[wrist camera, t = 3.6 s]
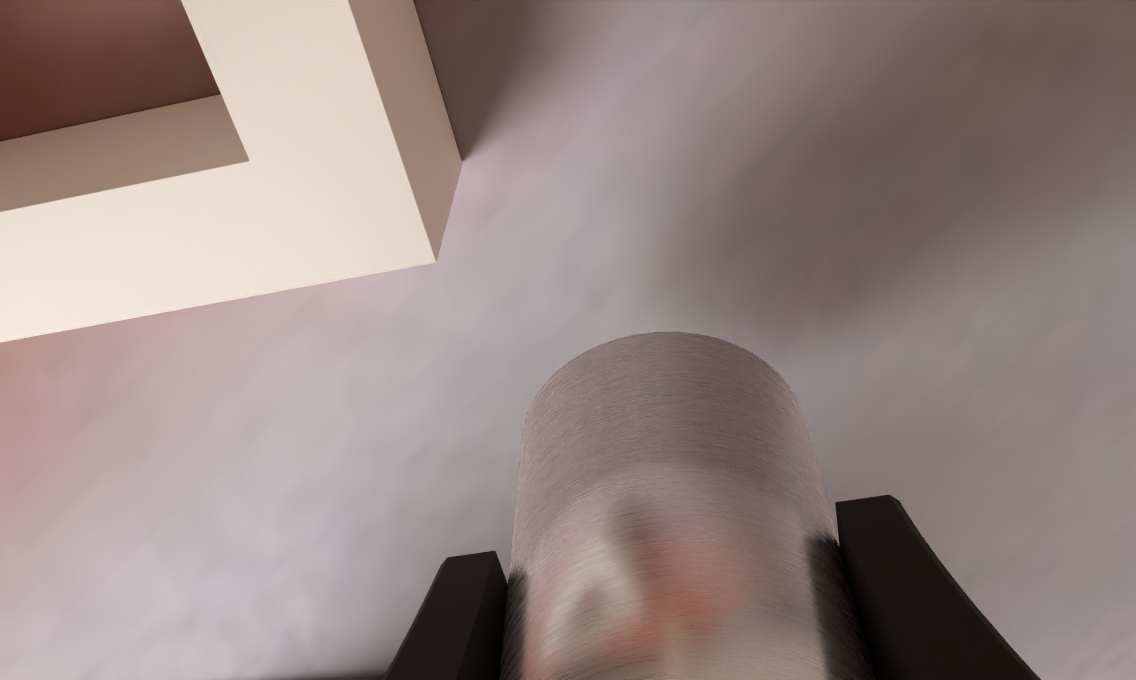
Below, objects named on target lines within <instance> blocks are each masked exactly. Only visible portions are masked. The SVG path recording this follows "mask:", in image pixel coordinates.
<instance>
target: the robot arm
mask: <svg viewBox="0 0 1136 680" xmlns="http://www.w3.org/2000/svg"><path fill="white" fill-rule="evenodd" d="M835 503H836V514H837V524H838V534H839V544H840V550H841V553H842V557H843V560H844V564H845V568H846V571H847V575H848V578H849V582H850V586H851V589H852V593H853V596H854V600H855V604H856V607H857V611H858V614H859V618H860V621H861V625H862V628H863V632H864V635H865V639H866V643H867V646H868V650H869V653H870V657H871V661H872V664H873V668H874V671H875V675H876V679H877V680H1041V679H1040V678H1039V677H1038V676H1037V675H1036V674H1035V673H1034V672H1033V671H1032V670H1031V669H1030V667H1029V666H1028V665H1027V664H1026V663H1025V662H1024V661H1023V660H1022V659H1021V658H1020V656H1019V655H1018V654H1017V653H1016V652H1015V651H1014V650H1013V649H1012V648H1011V646H1010V645H1009V644H1008V643H1007V642H1006V641H1005V640H1004V638H1003V637H1002V636H1001V635H1000V634H999V633H998V631H997V630H996V629H995V628H994V627H993V626H992V624H991V623H990V622H989V621H988V620H987V619H986V617H985V616H984V615H983V614H982V613H981V612H980V610H979V609H978V608H977V607H976V606H975V605H974V603H973V602H972V601H971V600H970V598H969V597H968V596H967V595H966V594H965V592H964V591H963V590H962V589H961V587H960V586H959V585H958V584H957V582H956V581H955V580H954V578H953V577H952V576H951V574H950V573H949V572H948V571H947V569H946V568H945V567H944V565H943V564H942V563H941V561H940V560H939V559H938V558H937V556H936V555H935V553H934V552H933V551H932V549H931V548H930V547H929V545H928V544H927V542H926V541H925V540H924V538H923V537H922V535H921V534H920V532H919V531H918V530H917V528H916V527H915V525H914V524H913V522H912V520H911V519H910V517H909V516H908V514H907V513H906V511H905V510H904V508H903V506H902V505H901V503H900V501H898V500H897V499H895V498H894V497H892V496H891V495H884V496H877V497H870V498H863V499H856V500H849V501H842V502H835ZM507 590H508V584H507V581H506V578H505V576H504V573H503V570H502V568H501V565H500V562H499V559H498V557H497V554H496V551H490V552H483V553H476V554H469V555H462V556H455V557H448V558H447V559H446V560H445V561H444V562H443V564H442V565H441V567H440V569H439V571H438V573H437V575H436V577H435V579H434V581H433V583H432V585H431V587H430V589H429V591H428V593H427V595H426V597H425V599H424V601H423V604H422V606H421V608H420V610H419V612H418V613H417V615H416V617H415V619H414V621H413V623H412V625H411V627H410V629H409V631H408V633H407V635H406V637H405V639H404V641H403V643H402V644H401V646H400V648H399V650H398V652H397V654H396V656H395V658H394V660H393V661H392V663H391V665H390V667H389V669H388V670H387V672H386V674H385V676H384V678H383V679H382V680H499V676H500V665H501V654H502V644H503V633H504V622H505V612H506V601H507Z"/></svg>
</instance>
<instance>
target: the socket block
mask: <svg viewBox="0 0 1136 680" xmlns="http://www.w3.org/2000/svg"><path fill="white" fill-rule="evenodd" d="M181 1H182V4H183V6H184V8H185V11H186V13H187V15H188V18H189V20H190V22H191V25H192V27H193V29H194V32H195V34H196V36H197V39H198V41H199V43H200V46H201V48H202V50H203V53H204V55H205V57H206V60H207V62H208V64H209V67H210V69H211V71H212V74H213V76H214V78H215V81H216V83H217V85H218V88H219V90H220V92H221V94H220V95H215V96H210V97H206V98H201V99H196V100H192V101H187V102H182V103H178V104H173V105H168V106H164V107H159V108H154V109H150V110H145V111H140V112H136V113H131V114H126V115H122V116H117V117H113V118H108V119H103V120H99V121H94V122H89V123H85V124H80V125H75V126H71V127H66V128H61V129H57V130H52V131H47V132H43V133H38V134H33V135H29V136H24V137H19V138H15V139H10V140H6V141H1V142H0V342H5V341H10V340H16V339H21V338H27V337H32V336H38V335H43V334H48V333H54V332H59V331H65V330H70V329H76V328H81V327H87V326H92V325H98V324H103V323H108V322H114V321H119V320H125V319H130V318H136V317H141V316H147V315H152V314H158V313H163V312H168V311H174V310H179V309H185V308H190V307H196V306H201V305H207V304H212V303H218V302H223V301H228V300H234V299H239V298H245V297H250V296H256V295H261V294H267V293H272V292H277V291H283V290H288V289H294V288H299V287H305V286H310V285H316V284H321V283H327V282H332V281H337V280H343V279H348V278H354V277H359V276H365V275H370V274H376V273H381V272H387V271H392V270H397V269H403V268H408V267H414V266H419V265H425V264H430V263H436V261H437V258H438V254H439V250H440V246H441V243H442V239H443V235H444V231H445V228H446V224H447V220H448V216H449V213H450V209H451V205H452V201H453V198H454V194H455V190H456V186H457V183H458V179H459V175H460V171H461V168H462V161H461V158H460V154H459V151H458V148H457V144H456V141H455V138H454V134H453V131H452V128H451V124H450V121H449V118H448V115H447V111H446V108H445V105H444V101H443V98H442V95H441V91H440V88H439V85H438V81H437V78H436V75H435V71H434V68H433V65H432V61H431V58H430V55H429V51H428V48H427V45H426V42H425V38H424V35H423V32H422V28H421V25H420V22H419V18H418V15H417V12H416V8H415V5H414V2H413V0H181Z"/></svg>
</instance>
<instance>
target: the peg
mask: <svg viewBox="0 0 1136 680" xmlns="http://www.w3.org/2000/svg"><path fill="white" fill-rule="evenodd" d="M499 680H877V679H876V675H875V671H874V668H873V664H872V661H871V657H870V653H869V650H868V646H867V643H866V639H865V635H864V632H863V628H862V625H861V621H860V618H859V614H858V611H857V607H856V604H855V600H854V596H853V593H852V589H851V586H850V582H849V578H848V575H847V571H846V568H845V564H844V560H843V557H842V553H841V550H840V546H839V542H838V538H837V535H836V531H835V528H834V524H833V520H832V517H831V513H830V510H829V506H828V502H827V499H826V495H825V492H824V488H823V484H822V481H821V477H820V474H819V470H818V466H817V463H816V459H815V456H814V452H813V448H812V445H811V441H810V438H809V434H808V430H807V427H806V423H805V420H804V416H803V413H802V410H801V408H800V405H799V403H798V400H797V398H796V396H795V395H794V393H793V391H792V390H791V388H790V386H789V385H788V384H787V383H786V382H785V380H784V379H783V378H782V377H781V376H780V374H779V373H778V372H776V371H775V370H774V369H773V368H772V367H771V366H770V365H769V364H767V363H766V362H765V361H763V360H762V359H760V358H759V357H757V356H756V355H754V354H753V353H751V352H749V351H747V350H745V349H743V348H741V347H739V346H737V345H735V344H732V343H729V342H726V341H723V340H721V339H718V338H713V337H709V336H704V335H700V334H693V333H683V332H654V333H645V334H637V335H633V336H628V337H624V338H619V339H616V340H613V341H610V342H607V343H605V344H602V345H599V346H597V347H595V348H593V349H591V350H589V351H587V352H585V353H583V354H581V355H579V356H578V357H576V358H575V359H573V360H572V361H570V362H568V363H567V364H566V365H565V366H563V367H562V368H561V369H560V370H559V371H557V372H556V373H555V374H554V375H553V376H552V377H551V378H550V379H549V380H548V382H547V383H546V384H545V385H544V386H543V387H542V389H541V390H540V391H539V393H538V394H537V396H536V397H535V399H534V400H533V403H532V405H531V407H530V409H529V411H528V413H527V416H526V420H525V423H524V427H523V433H522V442H521V452H520V463H519V473H518V484H517V495H516V505H515V516H514V527H513V537H512V548H511V559H510V569H509V580H508V590H507V601H506V612H505V622H504V633H503V644H502V654H501V665H500V676H499Z"/></svg>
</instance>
